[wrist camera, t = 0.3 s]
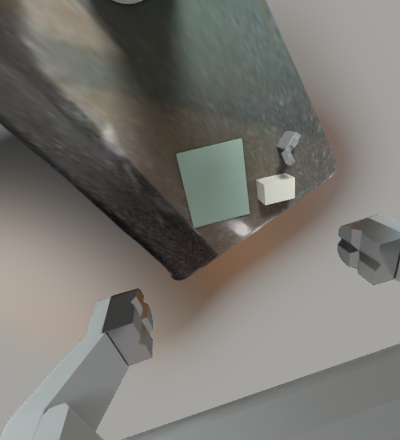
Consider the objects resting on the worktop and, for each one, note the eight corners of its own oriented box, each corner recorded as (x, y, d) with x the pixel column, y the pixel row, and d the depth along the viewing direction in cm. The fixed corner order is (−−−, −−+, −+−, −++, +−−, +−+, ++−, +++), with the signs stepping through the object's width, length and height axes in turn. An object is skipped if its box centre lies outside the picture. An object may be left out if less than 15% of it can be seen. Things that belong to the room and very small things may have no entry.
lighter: (285, 130, 54) (305, 132, 47) (290, 133, 55) (311, 136, 47) (269, 157, 56) (286, 163, 49) (275, 160, 57) (292, 166, 50)
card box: (256, 179, 58) (264, 185, 54) (284, 172, 59) (294, 177, 54) (257, 198, 61) (265, 205, 56) (284, 192, 61) (294, 198, 57)
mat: (175, 153, 52) (176, 154, 51) (240, 138, 53) (241, 138, 52) (193, 226, 61) (193, 228, 60) (248, 212, 62) (249, 213, 61)
